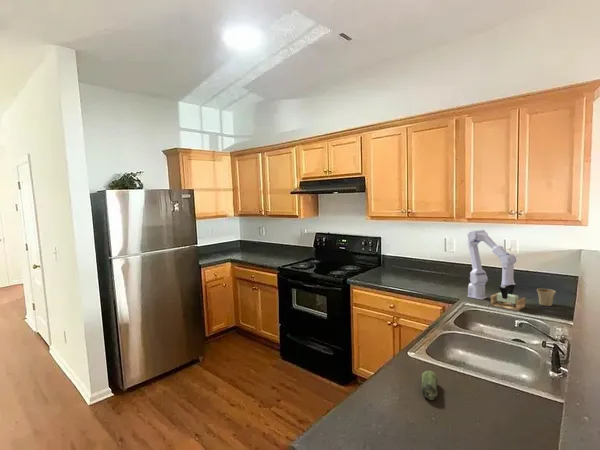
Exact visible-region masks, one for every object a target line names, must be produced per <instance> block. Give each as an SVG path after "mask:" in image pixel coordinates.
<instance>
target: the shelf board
mask: <svg viewBox="0 0 600 450" xmlns="http://www.w3.org/2000/svg"><path fill="white" fill-rule="evenodd" d="M497 293H498V294H497V301H502V302H507V303H512V304H516V301H517V300H519V299H520V297H519V295H518V294H508V296H507V299H503V298H502V294H501V291H500V292H497Z"/></svg>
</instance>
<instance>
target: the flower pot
mask: <svg viewBox="0 0 600 450" xmlns="http://www.w3.org/2000/svg"><path fill="white" fill-rule="evenodd" d="M536 292H537V295H538V303H539V305H541V306H549V307H550V306H553V302H554V297H555V295H556V292H557V291H556V290H555V289H554V290H553V289H550V288H537V289H536Z"/></svg>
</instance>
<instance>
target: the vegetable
mask: <svg viewBox="0 0 600 450" xmlns="http://www.w3.org/2000/svg"><path fill="white" fill-rule="evenodd" d="M420 387H421V388H420V389H421V393H422V395H423V397H424V398H425V399H427V400H430V401H434V400H435V399H436V398H437V397H438V376H437V374H436V373H435V372H434V371H433V370H425V371H423V372H422V374H421V386H420Z"/></svg>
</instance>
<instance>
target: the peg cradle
mask: <svg viewBox="0 0 600 450" xmlns="http://www.w3.org/2000/svg"><path fill="white" fill-rule="evenodd" d="M498 293H499V292H496V293H494V294H492V295H490V306H493V305H494V306H493V307H498V308H499V307H500V308H503V309H509V310H512V311H517V312H519V311H521V310H522V309H523V308H524V309H525V307H526V297H521V298H519V299H518V300H517V301H516V304H512V303H507V302H502V301H497V294H498Z"/></svg>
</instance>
